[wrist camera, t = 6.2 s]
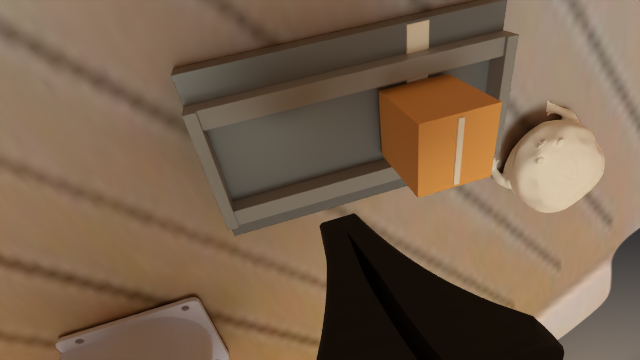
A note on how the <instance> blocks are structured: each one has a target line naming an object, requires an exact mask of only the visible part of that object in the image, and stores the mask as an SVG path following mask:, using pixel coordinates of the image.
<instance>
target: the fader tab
mask: <svg viewBox="0 0 640 360" xmlns="http://www.w3.org/2000/svg"><path fill="white" fill-rule="evenodd" d="M378 92H379V109H380V126H381V143H382V156H383V157H384V158H385V159H386V161H387V162H388V163H389V164H390V165H391V166H392V168H393V169H394V170H395V171H396V172H397V174H398V175H399V176H400V177H401V178H402V179H403V181H404V182H405V183H406V184H407V185H408V186H409V188H410V189H411V190H412V191H413V192H414V194H415V195H416V196H417V197H418V198H419V197H422V196H425V195H429V194H432V193H435V192H439V191H442V190H446V189H449V188H452V187H456V186H459V185H462V184H466V183H469V182H473V181H476V180H479V179H483V178H486V177H489V176H491V173H492V167H493V160H494V153H495V147H496V140H497V133H498V127H499V120H500V113H501V107H502V101H500V100H498V99H496V98H494V97H492V96H490V95H488V94H486V93H484V92H482V91H480V90H478V89H477V88H475V87H473V86H471V85H469V84H467V83H465V82H463V81H461V80H459V79H457V78H455V77H453V76H452V75H450V74H444V75H440V76H436V77H432V78H428V79H424V80H420V81H416V82H412V83H408V84H404V85H400V86H396V87H392V88H388V89H384V90H380V91H378Z"/></svg>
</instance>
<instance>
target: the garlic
mask: <svg viewBox="0 0 640 360" xmlns="http://www.w3.org/2000/svg"><path fill="white" fill-rule="evenodd" d="M545 112H548V114H547V116H548V115H550V114H551V113H556V114H559V115H561V116H562V119H561V120H552V121H546V122H543V123H541V124H539V125H538V126H536V127H535V128H533V129H532V130H530V131H529V132H528V133H527V134H525V135H524V136H523V137H522V138H521V139H520V141H519V142H518V143H517V144H516V145H515V147H514V148H513V149H512V151H511V153H510V155H509V157H508V159H507V162H506V164H505V167H504V171H503V173H502V174H501V173H499V171H498V169H497V163H498V162H499V160H498V161H495V160H496V159H494V160H493V167H492V173H491V175H492V178H493V179H494V181H495V182H496V183H498V184H499V185H501V186H503V187H505V188H508V189H511V190H512V191H513V192H514V193H515V194H516V195H517V196H519V198H520V199H521V200H522V201H523V202H524V203H525V204H527V205H528V206H530V207H531V208H533V209H535V210H537V211H539V212H545V213H553V212H558V211H561V210H564V209H566V208H568V207H569V206H571V205H572V204H574V203H575V202H577V201H578V200H579V199H580V198H582V197H583V196H584V195H585V194H586V193H588V192H589V191H590V190H591V189H592V188H593V187H594V186H595V185H596V184H597V183H598V181H599V180H600V179H601V177H602V175H603V172H604V166H605V159H604V154H603V152H602V150H601V148H600V147H599V145H598V143H597V142H596V140H595V138H594V135H593V133H592V131H591V130H590V129H588V128H586V127H584V126H582V125H581V124H580V122H579V121H578V119H577V117H576V115H575V114H574V113H573V112H572V111H570V110H568V109H566V108H563V107H560V106H557V105H556V104H552V103H550V102H549V101H548V105H547V109H546V111H545Z"/></svg>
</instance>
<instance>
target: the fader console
mask: <svg viewBox="0 0 640 360" xmlns="http://www.w3.org/2000/svg"><path fill="white" fill-rule="evenodd" d="M506 4H507V0H476V1H471V2H467V3H462V4H458V5H454V6H449V7H445V8H440V9H436V10H431V11H427V12H422V13H418V14H414V15H409V16H405V17H400V18H396V19H391V20H387V21H382V22H378V23H373V24H369V25H365V26H360V27H356V28H351V29H347V30H342V31H338V32H333V33H329V34H325V35H320V36H316V37H311V38H307V39H302V40H298V41H293V42H289V43H285V44H280V45H276V46H271V47H267V48H262V49H258V50H253V51H249V52H244V53H240V54H236V55H231V56H227V57H222V58H218V59H213V60H209V61H204V62H200V63H196V64H191V65H187V66H182V67H178V68H173V71H172V75H171V76H172V79H173V82H174V84H175V87H176V89H177V92H178V94H179V97H180V99H181V102H182V104H183V113H182V117H183V120H184V122H185V125H186V127H187V130H188V132H189V135H190V137H191V140H192V142H193V145H194V147H195V150H196V152H197V155H198V157H199V160H200V162H201V164H202V167H203V169H204V172H205V174H206V177H207V179H208V182H209V184H210V187H211V189H212V192H213V194H214V197H215V199H216V202H217V204H218V207H219V209H220V212H221V214H222V216H223V219H224V221H225V224H226V226H227V229H228V231H229V230H232V231H233V233H234V236H236V235H240V234H243V233H246V232H250V231H253V230H257V229H260V228H264V227H267V226H271V225H274V224H277V223H281V222H284V221H288V220H291V219H295V218H298V217H301V216H305V215H308V214H312V213H315V212H319V211H322V210H326V209H329V208H332V207H336V206H339V205H343V204H346V203H350V202H353V201H356V200H360V199H363V198H367V197H370V196H374V195H377V194H380V193H384V192H387V191H391V190H394V189H398V188H401V187H405V186H408V185H407V184H406V183H405V182H404V181H403V179H402V178H401V177H400V176H399V175H398V174H397V172H396V171H395V170H394V169H393V168H392V166H391V165H390V164H389V163H388V162H387V161H386V159H385V158H384V157H383V156H382V143H381V126H380V109H379V92H378V91H380V90H384V89H388V88H392V87H396V86H400V85H404V84H408V83H412V82H416V81H420V80H424V79H428V78H432V77H436V76H440V75H444V74H450V75H452V76H453V77H455V78H457V79H459V80H461V81H463V82H465V83H467V84H469V85H471V86H473V87H475V88H477V89H478V90H480V91H482V92H484V93H486V94H488V95H490V96H492V97H494V98H496V99H498V100H500V101H502V107H501V113H500V120H499V127H498V133H497V140H496V147H495V153H494V154H496V153H499V152H500V149H501V142H502V136H503V130H504V124H505V117H506V111H507V105H508V99H509V92H510V86H511V80H512V74H513V67H514V61H515V55H516V49H517V43H518V36H519V35H518V34H515V33H511V32H508V31H504V30H503V26H504V18H505V11H506Z"/></svg>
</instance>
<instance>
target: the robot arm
mask: <svg viewBox="0 0 640 360" xmlns="http://www.w3.org/2000/svg"><path fill="white" fill-rule="evenodd" d="M320 230H321V235H322V240H323V245H324V250H325V255H326V260H327V291H326V305H325V314H324V322H323V329H322V335H321V341H320V346H319V350H318V355H317V360H563V356H564V349H563V346H562V345H561V344H560V343H559V342H558V340H557V339H556V338H555V337H554V336H553V335H552V334H551V333H550V332H549V331H548V330H547V329H546V328H545V327H544V326H543V325H542V324H541V323H540V322H539V321H537V320H536V319H535V318H534V317H533V316H531V315H528V314H525V313H522V312H519V311H516V310H513V309H510V308H508V307H505V306H502V305H499V304H496V303H494V302H491V301H489V300H486V299H484V298H481V297H479V296H477V295H475V294H473V293H470V292H468V291H466V290H464V289H462V288H460V287H458V286H456V285H453V284H451V283H450V282H448V281H446V280H444V279H442V278H440V277H438V276H437V275H435V274H433V273H432V272H430V271H428V270H426V269H425V268H423V267H422V266H420V265H419V264H417V263H415V262H414V261H412V260H411V259H410V258H408V257H407V256H405V255H404V254H402V253H401V252H400V251H398V250H397V249H396V248H394V247H393V246H392V245H390V244H389V243H388V242H387V241H385V240H384V239H383V238H382V237H380V236H379V235H378V234H377V233H376V232H375V231H373V230H372V229H371V228H370V227H369V226H368V225H367V224H366V223H364V222H363V221H362V220H361V219H360V218H359V217H358V216H357V215H356V214H350V215H347V216H343V217H340V218H337V219H333V220H330V221H327V222H323V223H322V224H321V225H320ZM55 347H56V348H57V349H58V350H59V351H60V352H61V356H60V359H59V360H229V352H228V350H227V349H226V347H225V345H224V343H223V341H222V339H221V338H220V336H219V334H218V332H217V330H216V329H215V327H214V325H213V323H212V321H211V319H210V318H209V316H208V314H207V312H206V310H205V308H204V307H203V305H202V303H201V301H200V300H199V299H198V298H196V297H191V298H187V299H184V300H181V301H178V302H174V303H171V304H168V305H165V306H161V307H158V308H155V309H152V310H148V311H145V312H142V313H139V314H135V315H132V316H129V317H126V318H123V319H119V320H116V321H113V322H110V323H106V324H103V325H100V326H97V327H93V328H90V329H87V330H84V331H80V332H77V333H74V334H71V335H67V336H64V337H61V338H59V339H58V340H57V342H56V345H55Z"/></svg>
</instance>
